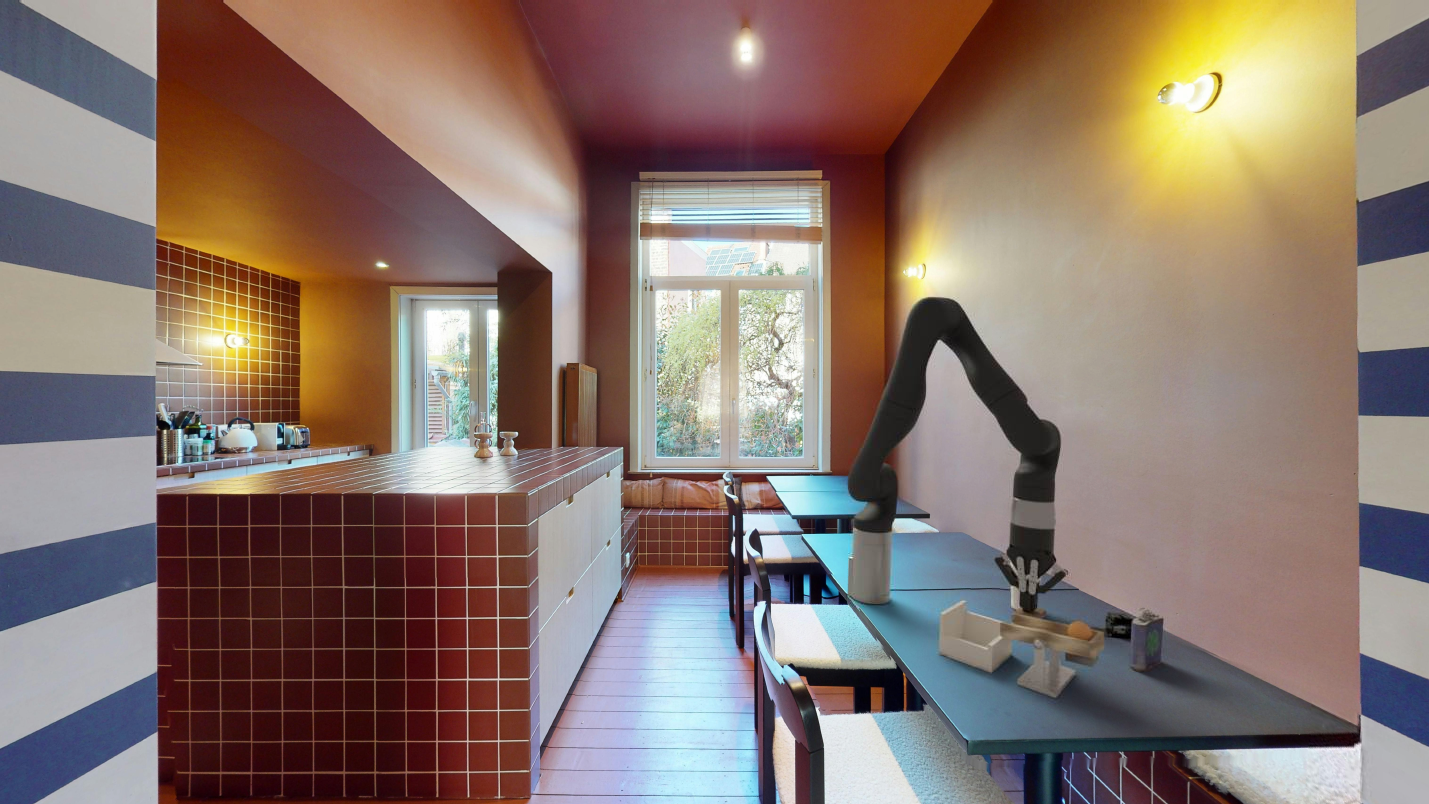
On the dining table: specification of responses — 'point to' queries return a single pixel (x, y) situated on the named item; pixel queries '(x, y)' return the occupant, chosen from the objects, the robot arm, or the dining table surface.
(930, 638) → the dining table surface
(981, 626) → the white open bin
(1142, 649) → the flask
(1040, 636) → the chute
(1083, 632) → the ball
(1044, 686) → the stand
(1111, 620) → the black blocky device
